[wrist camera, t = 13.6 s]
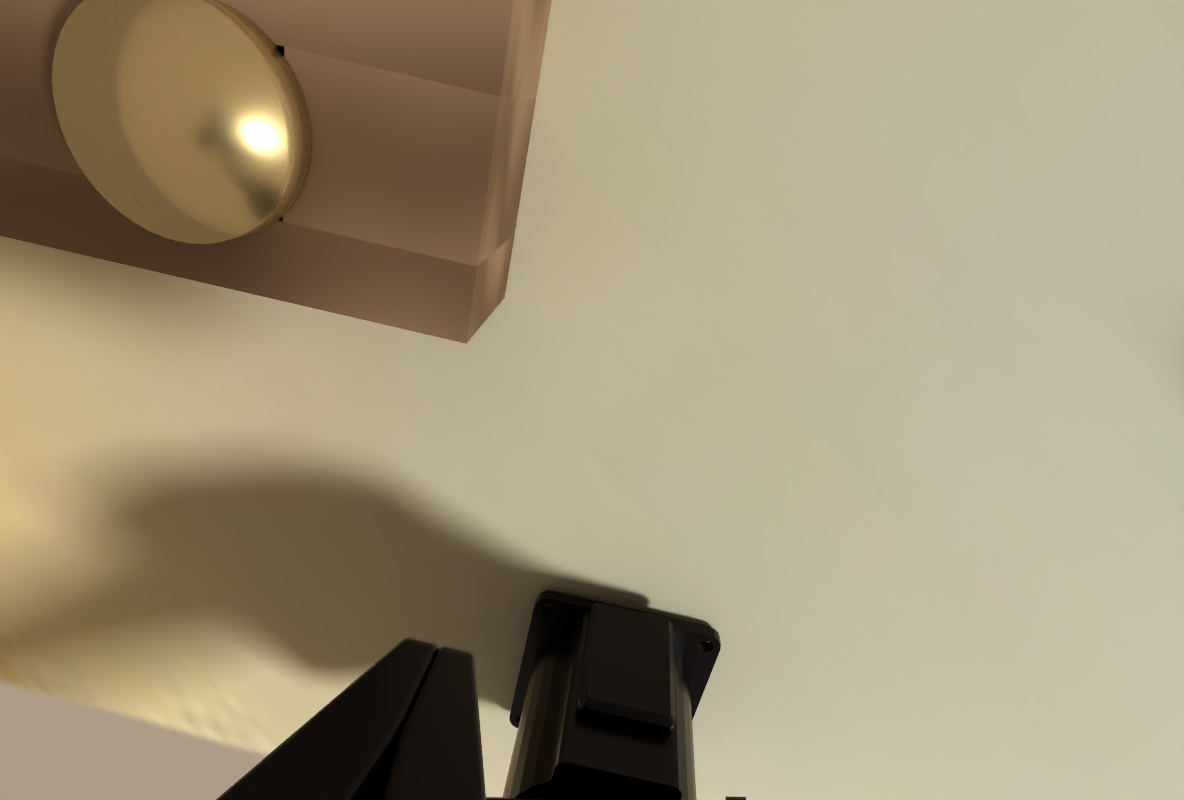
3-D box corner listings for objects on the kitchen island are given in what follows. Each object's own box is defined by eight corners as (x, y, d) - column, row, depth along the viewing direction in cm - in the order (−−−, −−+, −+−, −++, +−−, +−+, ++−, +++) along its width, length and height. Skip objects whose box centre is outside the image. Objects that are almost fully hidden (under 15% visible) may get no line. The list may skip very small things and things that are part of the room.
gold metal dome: (377, 227, 18) (286, 266, 13) (213, 189, 18) (68, 215, 13) (391, 40, 16) (289, 13, 11) (206, -4, 16) (35, -46, 11)
